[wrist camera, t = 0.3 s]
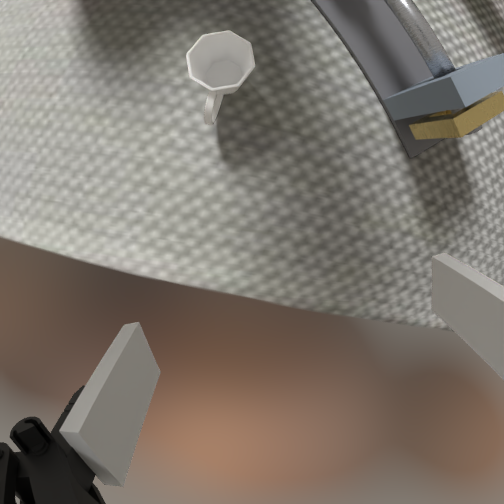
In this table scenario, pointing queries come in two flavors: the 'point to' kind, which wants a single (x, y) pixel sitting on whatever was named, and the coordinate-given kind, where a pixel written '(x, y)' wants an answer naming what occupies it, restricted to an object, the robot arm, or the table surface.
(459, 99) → the rig
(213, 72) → the cup
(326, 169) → the table surface
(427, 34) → the shaft
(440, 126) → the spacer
